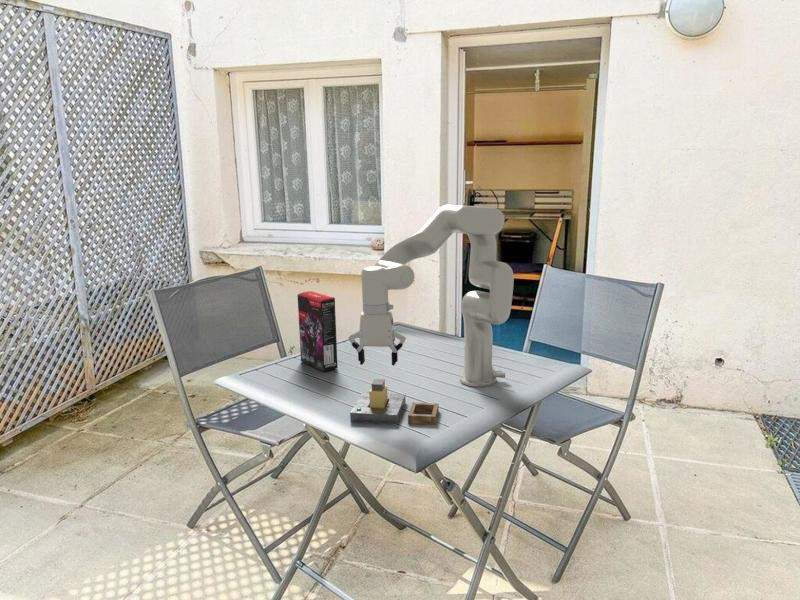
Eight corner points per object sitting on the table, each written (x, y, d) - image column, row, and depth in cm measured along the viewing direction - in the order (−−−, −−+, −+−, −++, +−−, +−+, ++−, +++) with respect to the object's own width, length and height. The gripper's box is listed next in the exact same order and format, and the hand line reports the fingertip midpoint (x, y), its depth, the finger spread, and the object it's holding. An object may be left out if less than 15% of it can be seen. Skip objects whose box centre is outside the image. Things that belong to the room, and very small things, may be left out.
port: (405, 402, 190) (405, 392, 189) (397, 424, 174) (397, 413, 174) (362, 401, 192) (362, 391, 191) (350, 422, 177) (350, 411, 176)
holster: (438, 411, 183) (438, 403, 182) (435, 424, 174) (435, 416, 173) (412, 410, 184) (412, 402, 184) (408, 423, 175) (407, 415, 174)
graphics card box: (299, 362, 231) (295, 293, 225) (315, 358, 235) (311, 290, 229) (323, 373, 218) (320, 300, 212) (339, 368, 222) (336, 297, 216)
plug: (387, 408, 186) (387, 378, 183) (384, 416, 180) (383, 385, 178) (373, 408, 186) (372, 377, 184) (370, 416, 181) (368, 385, 178)
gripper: (406, 305, 178) (408, 360, 182) (350, 305, 181) (353, 358, 185) (402, 312, 171) (404, 368, 175) (344, 311, 174) (347, 367, 178)
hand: (378, 363), depth 180 cm, fingers open, 9 cm apart
